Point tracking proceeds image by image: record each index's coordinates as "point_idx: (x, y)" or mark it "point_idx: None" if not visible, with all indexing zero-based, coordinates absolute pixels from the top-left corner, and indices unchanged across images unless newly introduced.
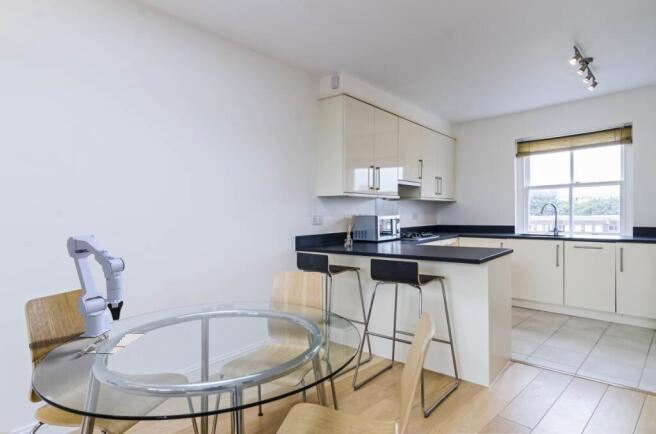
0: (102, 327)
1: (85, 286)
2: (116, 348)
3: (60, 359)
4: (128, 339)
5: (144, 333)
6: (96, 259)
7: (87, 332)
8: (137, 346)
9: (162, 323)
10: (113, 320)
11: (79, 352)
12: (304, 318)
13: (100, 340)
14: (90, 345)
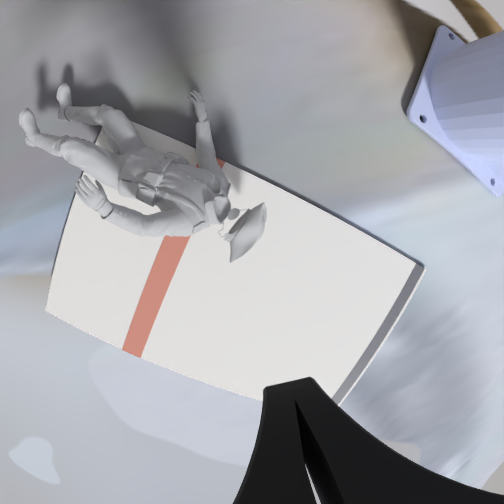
0: (485, 153)
1: None
2: (114, 314)
3: (75, 11)
4: (259, 356)
5: None
6: None
7: (446, 60)
8: (131, 410)
9: (429, 434)
10: (265, 390)
11: (59, 95)
12: None
13: (160, 204)
14: (63, 157)
